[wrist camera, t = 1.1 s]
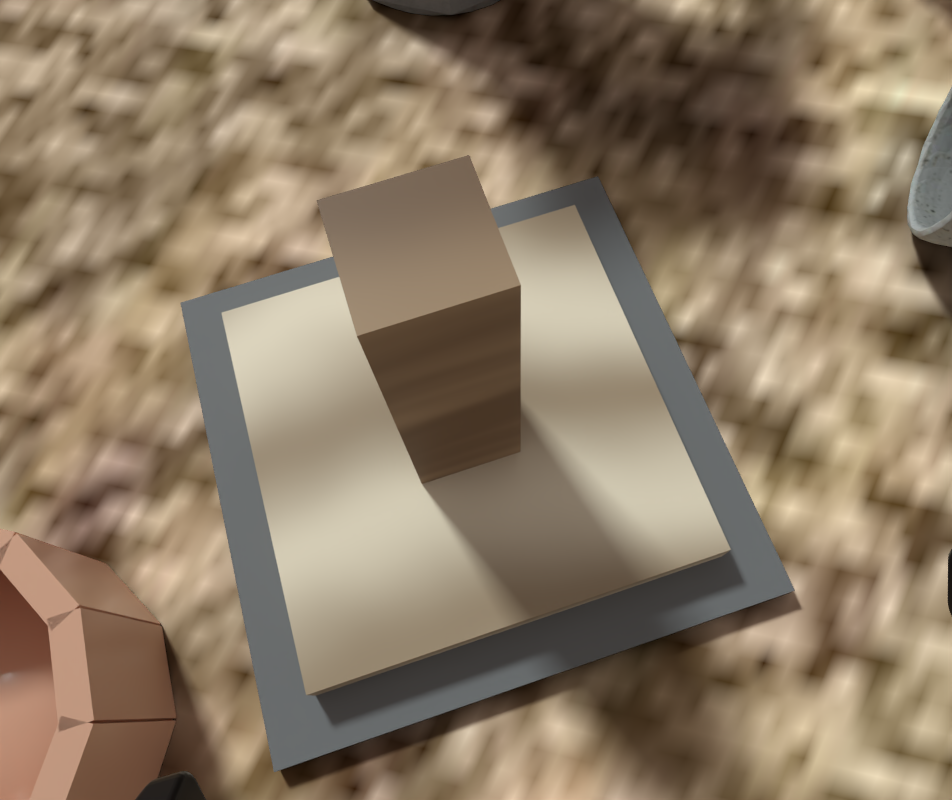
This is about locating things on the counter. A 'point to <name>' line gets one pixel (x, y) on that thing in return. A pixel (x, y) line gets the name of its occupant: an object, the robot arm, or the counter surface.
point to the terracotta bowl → (77, 679)
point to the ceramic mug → (934, 183)
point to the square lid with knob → (455, 431)
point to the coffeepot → (437, 6)
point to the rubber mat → (512, 651)
